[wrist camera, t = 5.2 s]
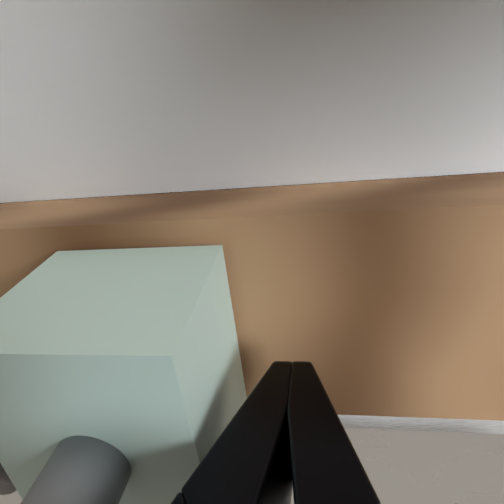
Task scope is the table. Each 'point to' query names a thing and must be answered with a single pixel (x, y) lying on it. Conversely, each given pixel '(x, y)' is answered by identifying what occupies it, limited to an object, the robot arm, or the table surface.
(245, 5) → the table surface
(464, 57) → the table surface
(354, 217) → the wood and metal assembly
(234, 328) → the sliding leg
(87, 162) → the table surface
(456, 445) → the bolt plate
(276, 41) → the table surface
